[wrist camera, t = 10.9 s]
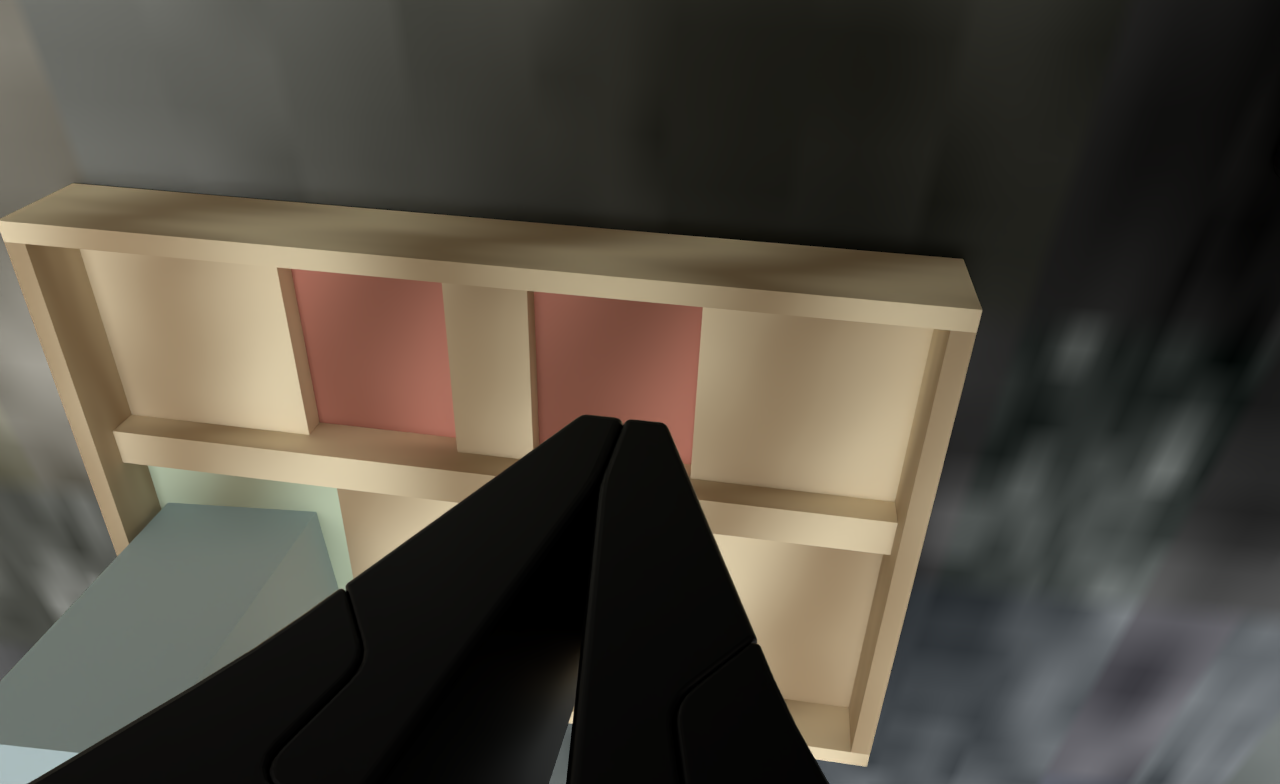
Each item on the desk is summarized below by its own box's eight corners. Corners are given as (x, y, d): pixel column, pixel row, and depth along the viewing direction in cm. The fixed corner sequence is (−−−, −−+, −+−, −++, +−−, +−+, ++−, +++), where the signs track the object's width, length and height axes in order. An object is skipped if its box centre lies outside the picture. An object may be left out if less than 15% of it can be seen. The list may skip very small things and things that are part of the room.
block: (316, 511, 25) (140, 759, 19) (350, 629, 28) (204, 887, 21) (168, 502, 26) (-54, 738, 19) (213, 617, 28) (29, 864, 22)
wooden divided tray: (962, 258, 20) (982, 310, 18) (861, 693, 27) (866, 766, 25) (72, 183, 22) (-4, 220, 20) (201, 603, 30) (155, 662, 27)
